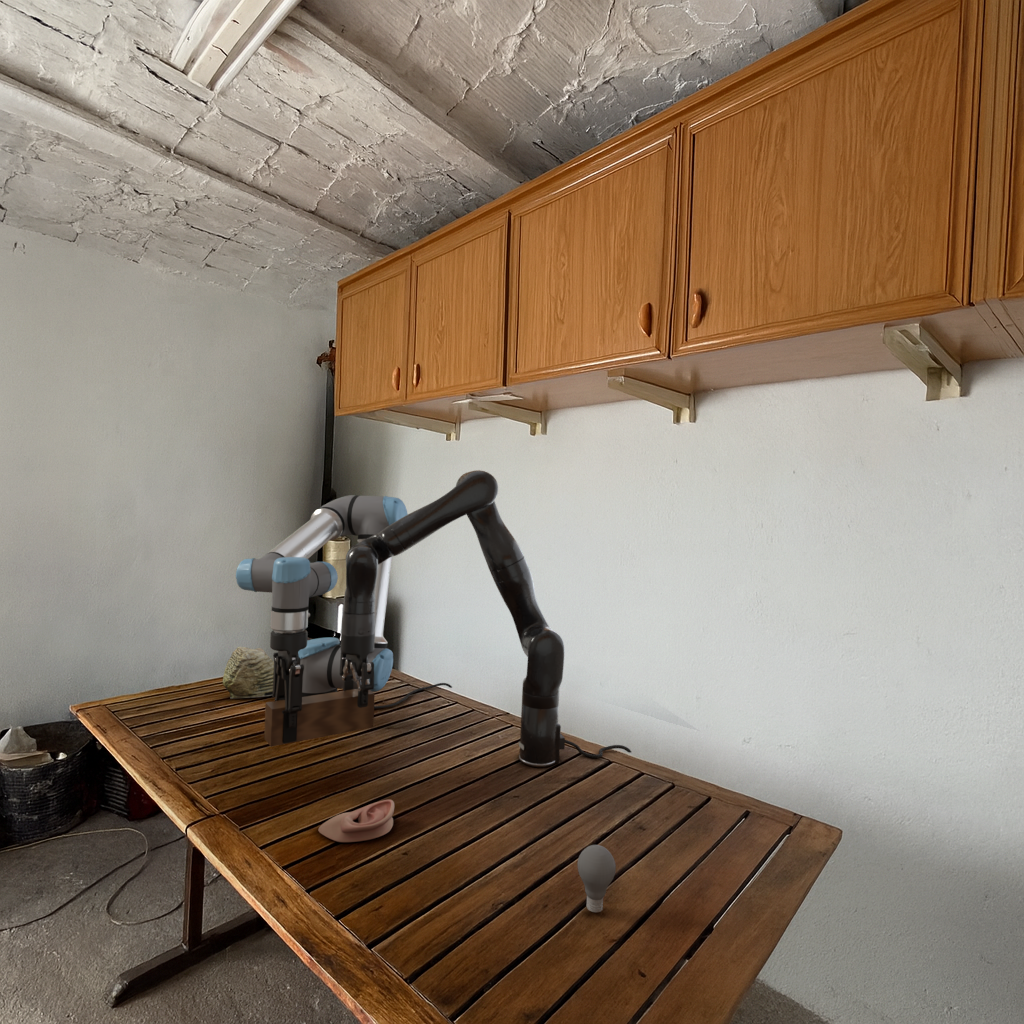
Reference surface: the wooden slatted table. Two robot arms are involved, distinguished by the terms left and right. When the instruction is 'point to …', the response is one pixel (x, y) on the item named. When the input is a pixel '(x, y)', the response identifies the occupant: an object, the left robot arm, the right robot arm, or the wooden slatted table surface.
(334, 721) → the bar
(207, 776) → the wooden slatted table surface
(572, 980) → the wooden slatted table surface
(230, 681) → the fossil
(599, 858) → the light bulb
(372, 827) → the anatomical model
